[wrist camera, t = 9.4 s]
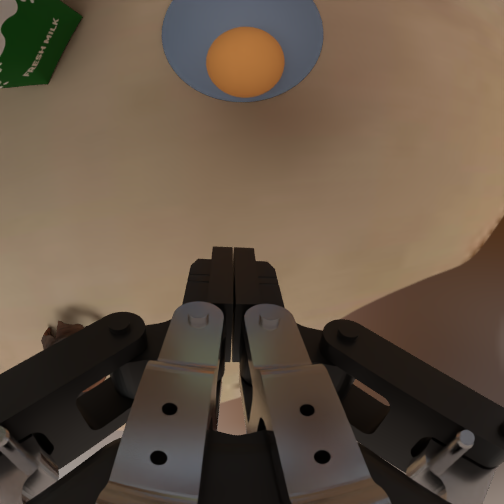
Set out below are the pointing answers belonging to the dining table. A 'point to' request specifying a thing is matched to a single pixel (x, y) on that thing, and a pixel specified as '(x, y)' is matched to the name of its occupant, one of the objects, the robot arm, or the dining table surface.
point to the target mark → (232, 16)
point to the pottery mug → (61, 334)
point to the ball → (245, 62)
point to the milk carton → (33, 39)
